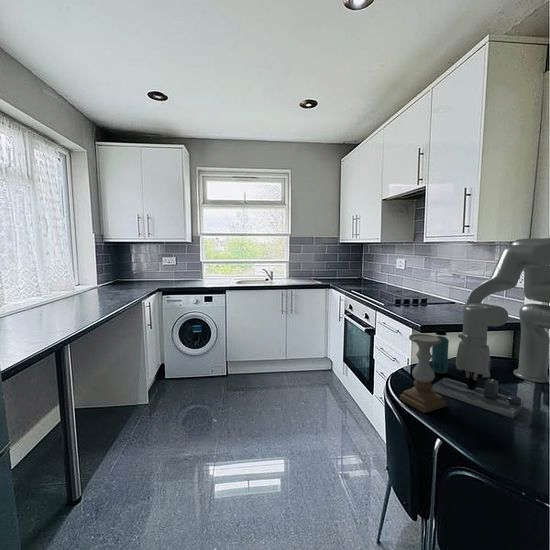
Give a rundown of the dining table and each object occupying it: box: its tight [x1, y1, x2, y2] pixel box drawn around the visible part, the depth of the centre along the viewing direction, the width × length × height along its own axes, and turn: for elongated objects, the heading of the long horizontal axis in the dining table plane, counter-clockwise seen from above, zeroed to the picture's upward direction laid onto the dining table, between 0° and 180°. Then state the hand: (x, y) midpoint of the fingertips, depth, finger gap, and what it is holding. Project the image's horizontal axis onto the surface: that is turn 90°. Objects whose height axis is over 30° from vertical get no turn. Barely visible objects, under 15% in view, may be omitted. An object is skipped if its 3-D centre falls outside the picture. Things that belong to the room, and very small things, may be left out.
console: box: [431, 377, 524, 420], centre depth 115 cm, size 12×26×4 cm, turn 40°
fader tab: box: [483, 378, 499, 400], centre depth 111 cm, size 4×3×6 cm
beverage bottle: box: [430, 328, 450, 374], centre depth 136 cm, size 6×7×20 cm
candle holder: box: [399, 333, 447, 414], centre depth 111 cm, size 11×11×24 cm
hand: (471, 388), depth 115 cm, fingers closed
